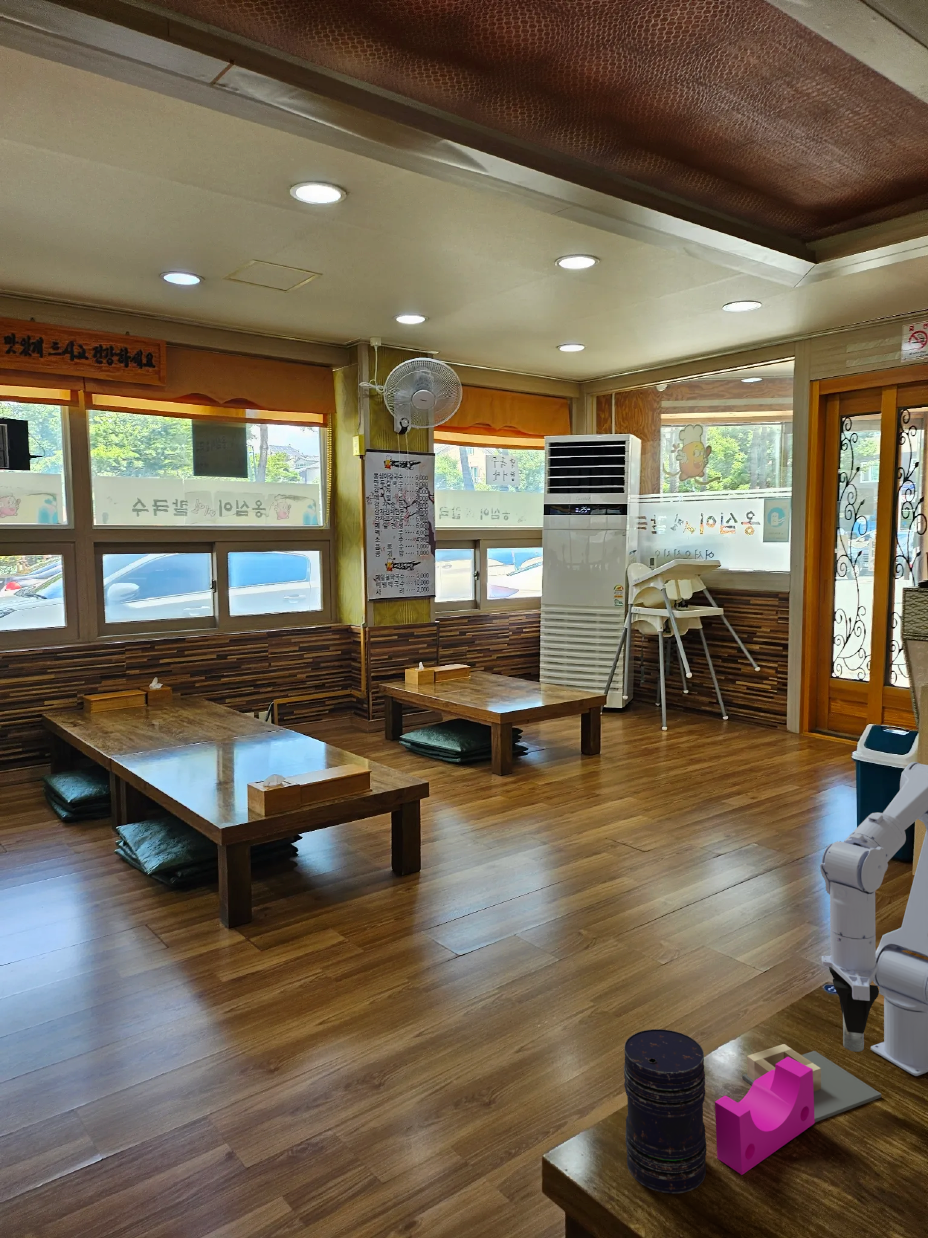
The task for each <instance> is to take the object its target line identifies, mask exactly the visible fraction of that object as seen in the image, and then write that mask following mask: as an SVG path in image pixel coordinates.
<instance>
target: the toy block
mask: <svg viewBox="0 0 928 1238" xmlns="http://www.w3.org/2000/svg"><path fill="white" fill-rule="evenodd" d="M714 1112H715V1114H714V1115H715V1118H714V1119H715V1134H716V1135H715V1139H716V1158H717V1160H718V1161H720V1162H722V1163H723V1164H725V1165H726V1166H728V1167H730V1168H731V1169H732V1170H734V1171H735V1172H737V1173H738V1174H739V1175H741V1176H742V1175H744V1174H745V1173H747V1172H748V1171H750V1170H751V1169H752V1168H754V1167H756V1166H757V1165H758V1164H760V1163H761V1162H763V1161H764V1160H765V1159H767V1158H768V1157H770V1156H771V1155H772V1154H774V1153H775V1152H776V1151H778V1150H780V1149H781V1148H782V1147H783V1146H785V1145H787V1144H788V1143H789V1142H790V1141H792V1140H793V1139H795V1138H796V1137H798V1136H799V1135H801V1134H802V1133H803V1132H805V1131H806V1130H808V1128H810V1127H812V1126H813V1125H814V1124H815V1123H816V1122H815V1119H814V1092H813V1069H811V1068H809V1067H807V1066H805V1065H803V1064H802V1063H800V1062H798V1061H796V1060H794V1059H792V1058H790V1057H786V1058H785V1059H783V1060H781V1061H780V1062H778V1063H776V1064H775V1070H773V1069H772V1070H771V1071H769V1072H768V1073H766V1074H764V1075H763V1076H761V1077H760V1078H758V1079H756V1080H755V1081H754V1082H753V1084H752V1085H751V1087H750V1088H749V1090H748V1091H747V1093H746V1094H745V1095H744V1096H743V1098H742V1099H740V1100H739V1101H738V1102H737V1101H736V1100H734V1099H732V1098H730V1097H729V1096H728V1095H723V1096H722V1097H720V1098H719V1099H716V1100H715V1101H714Z"/></svg>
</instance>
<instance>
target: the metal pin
mask: <svg viewBox="0 0 928 1238" xmlns="http://www.w3.org/2000/svg"><path fill="white" fill-rule="evenodd" d="M842 1034H843V1035H842V1040H843V1041H842V1042H843V1043H842V1046H843V1048H845V1049H847V1050H848V1051H851V1052H857V1053H860V1052H862V1051H863V1050H865V1049H864V1048H865V1047H864V1045H865V1041H864V1040H865V1039H864V1035H865V1032H864V1033H863V1034H861V1033H852V1032H848V1031H847V1028H846V1025H845V1021H844V1015H843V1014H842Z"/></svg>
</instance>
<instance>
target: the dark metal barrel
mask: <svg viewBox="0 0 928 1238" xmlns="http://www.w3.org/2000/svg"><path fill="white" fill-rule="evenodd" d="M704 1063H705V1053H704V1049H703V1047H702V1045H700V1043H698V1042H697V1040H695V1039H694V1038H693V1037H690V1036H689V1035H686V1034H685V1033H682V1032H679V1031H674V1030H671V1029H669V1030H668V1029H661V1028H659V1029H658V1028H655V1029H654V1028H653V1029H646V1030H641V1031H638V1032H635V1033H633V1034H631V1036H629V1037H628V1038H627V1039H626V1041H625V1042H624V1065H623V1073H624V1075H623V1077H624V1082H623V1083H624V1085H623V1086H624V1090H625V1094H626V1097H627V1115H626V1118H625V1146H626V1164H627V1169H628V1171H629V1173H630V1174H631V1176H632V1177H633V1178H634V1179H635V1181H637V1182H639V1184H641V1185H643V1186H644V1187H646V1188H648V1189H650V1190H653V1191H654V1192H655V1191H656V1192H659V1193H664V1194H683V1193H686V1192H690V1191H693V1190H695V1189H697V1188H698V1187H699V1186H700V1185H701V1184H702V1183H703V1182H704V1181H705V1177H706V1175H707V1174H706V1173H707V1169H706V1168H707V1167H706V1160H707V1157H706V1156H707V1139H706V1126H705V1124H704V1123H705V1122H704V1102H705V1098H706V1073H705V1064H704Z"/></svg>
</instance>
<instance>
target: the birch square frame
mask: <svg viewBox="0 0 928 1238" xmlns="http://www.w3.org/2000/svg"><path fill="white" fill-rule="evenodd" d="M802 1055H803V1054H800V1053H799V1052H797V1051H795V1050H794V1049H793V1048H791V1047H789V1046H788V1045H787V1044H785V1043H783V1044H780V1045H779V1044H778V1045H776V1046H774V1047H770V1048H767V1049H764V1050H761V1051H758V1052H755V1053H751V1054H749V1055H746V1067H747V1068H746V1070H747V1071H746V1074H747V1076H748V1077H750V1078H751V1079H752V1080H753V1081H755V1080H756V1079H758V1078H760V1077H761V1076H763V1075H764V1074H766V1073H768V1072H769V1071H771V1070H772V1069H773V1070H775V1064H776V1063H778V1062H780V1061H781V1060H783V1059H785V1058H786V1057H790V1058H792V1059H794V1060H796V1061H798V1062H800V1063H802V1064H803V1065H805V1066H807V1067H809V1068H811V1069H813V1092H814V1091H817V1090H819V1089H821V1068H820V1067H818V1066H817V1065H815V1064H814V1063H812V1062H811V1061H809V1060H808V1059H806V1058H805V1057H803V1056H802Z"/></svg>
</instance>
